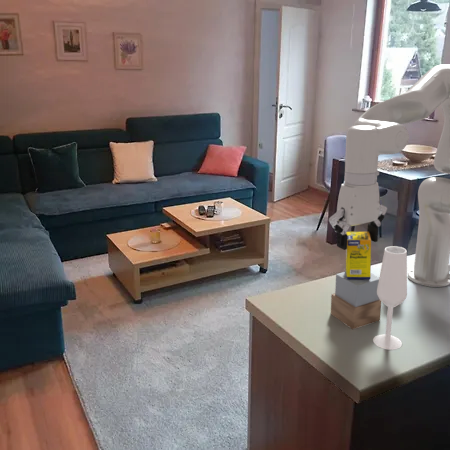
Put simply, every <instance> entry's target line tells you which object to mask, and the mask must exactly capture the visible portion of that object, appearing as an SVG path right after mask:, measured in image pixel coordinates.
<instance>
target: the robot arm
mask: <svg viewBox="0 0 450 450" xmlns="http://www.w3.org/2000/svg"><path fill="white" fill-rule="evenodd" d="M439 107H441V110H442V113H443V118H444V121H443V122H444V123H443V126H442V131H441V135H440V139H439V141H438V144H437V148H436V151H435V154H434V159H433V167H434V169H435V170H436V171H438V172H440V173H443V174H445V175H446V174H447V175H450V64H439V65H435V66H433V67H431V68H430V69H428V70H427V71H426V73H424V74H423V75H422V76H421V77H420V78H419V79H418V80H417V81H416V82H414V84H412V86H411V87H409V88H408V89H407V90H406V91H405V92H403V93H401V94H398V95H395V96H393V97H391V98H388V99H385V100H384V101H381V102H379V103H376V104H374V105H372V106H371V107H369V108H368V109H367V110H366V111H365V112H363V113H362V114H361V115H360V116H359V117H358V118H357V119H356V120H355V122H353V124H352V125H351V126H350V127H348V129H347V131H346V135H345V140H346V141H345V155H344V156H345V157H344V158H345V160H344V181H343V182H344V183H341V185H340V188H339V194H338V196H337V197H338V198H337V199H338V200H337V206H336V212H335V213H334V214H333V215H331V216H330V217H329V218H328V222H329V224H330V225H331V228H332V229H333V230H334V232H335V233H336V246H337V248H339V249H341V250H344V251H346V249H347V237H348V236H347V234H346V232H348V230H349V229H350V227H354V226H359V225H363V224H367V223H368V224H367V231H366V232H369V233H370V237H371V242H375V243H376V242H378V237H379V227H381V225H382V222H383V220H384V218H385V215H386V213H387V211H388V207H387V206H385V205H383V204H380V200H381V199H380V187H379V182H377V181H378V176H379V175H380V171H379V170H378V167H379V166H378V165H379V157H380V156H381V155H395V154H398V153H400V152H402V151H403V150H404V149H405V148H406V146H407V145H408V143H409V140H410V135H409V131H408V129H407V128H406V126H404V124H405V125H406V124H410V123H411V124H413V123H415V122H420V121H423V120H425V119H427V118H428V117H429V116H431V115H432V114H433V112H435V110H437V109H438V108H439ZM417 201H418V207H419V208H418V209H419V211H418V212H419V215H418V226H417V227H418V228H417V237H416V238H417V239H416V246H415V247H416V248H415V257H414V265H413V268H411V269H409V270H408V271H407V278H408V279H409V280H410V281H412V282H413V283H415V284H418V285H421V286H426V287H430V288H431V287H432V288H442V287H447V286H449V285H450V178H446V177H441V176H439V177H438V176H431V177H428V178H426V179H424V180H423V181H422V182H421V183H420V185H419V187H418V192H417Z"/></svg>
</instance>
